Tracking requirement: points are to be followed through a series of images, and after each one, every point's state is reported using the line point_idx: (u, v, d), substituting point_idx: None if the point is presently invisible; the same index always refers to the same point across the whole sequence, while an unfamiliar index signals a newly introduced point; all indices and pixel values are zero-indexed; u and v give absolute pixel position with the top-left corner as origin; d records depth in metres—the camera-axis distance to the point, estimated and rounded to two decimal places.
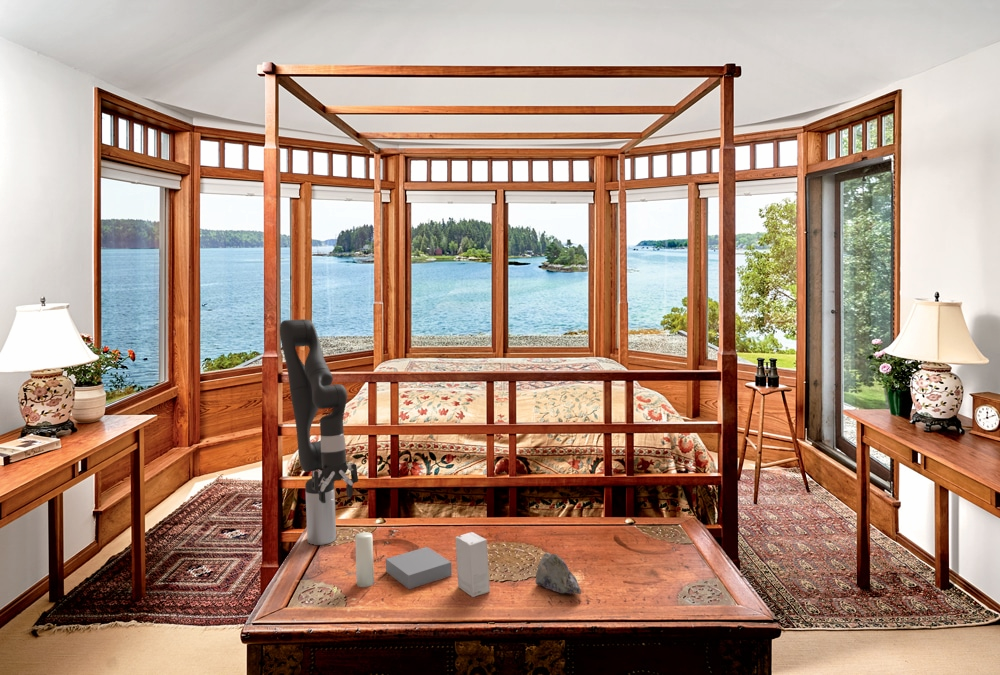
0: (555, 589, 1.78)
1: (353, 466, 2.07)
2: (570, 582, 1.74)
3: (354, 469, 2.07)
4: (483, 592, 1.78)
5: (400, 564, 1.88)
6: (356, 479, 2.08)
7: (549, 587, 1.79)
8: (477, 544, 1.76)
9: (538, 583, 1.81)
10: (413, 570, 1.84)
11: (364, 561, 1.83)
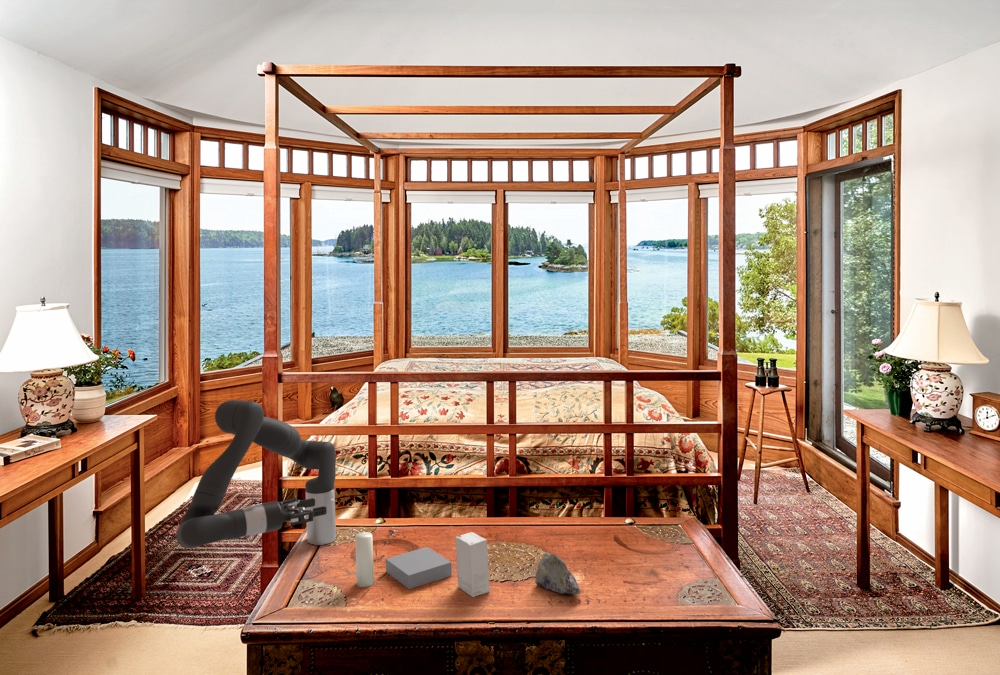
0: (554, 589, 1.78)
1: None
2: (569, 582, 1.74)
3: None
4: (483, 592, 1.78)
5: (400, 564, 1.88)
6: None
7: (548, 587, 1.79)
8: (478, 544, 1.76)
9: (538, 583, 1.81)
10: (413, 570, 1.84)
11: (364, 561, 1.83)
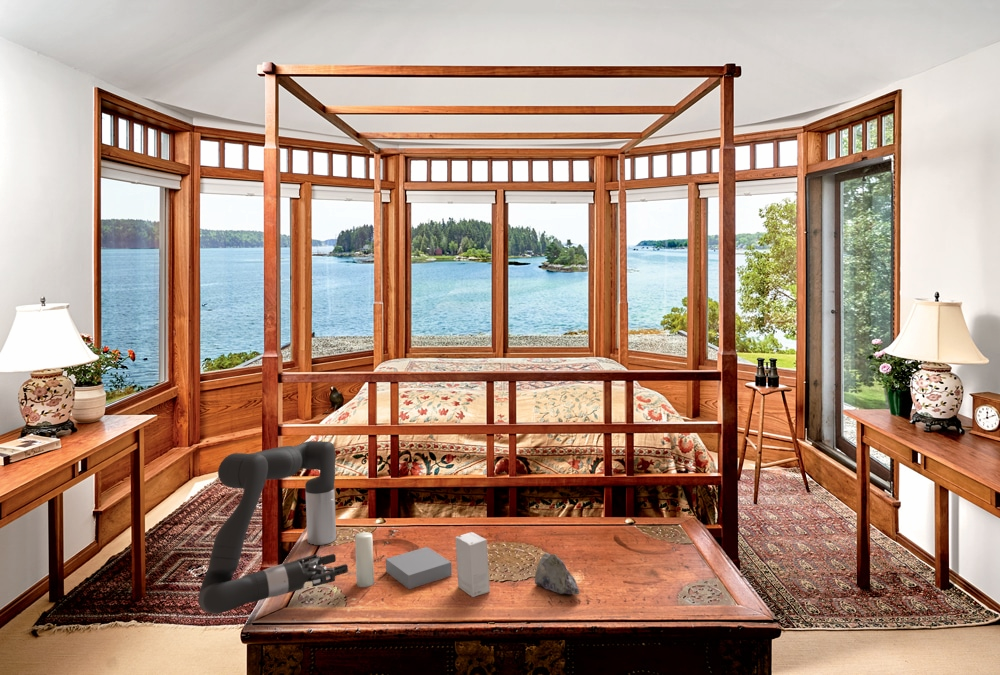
0: (554, 589, 1.77)
1: None
2: (568, 582, 1.74)
3: None
4: (483, 592, 1.78)
5: (400, 564, 1.88)
6: None
7: (548, 587, 1.79)
8: (477, 544, 1.76)
9: (537, 583, 1.82)
10: (413, 570, 1.84)
11: (364, 561, 1.82)
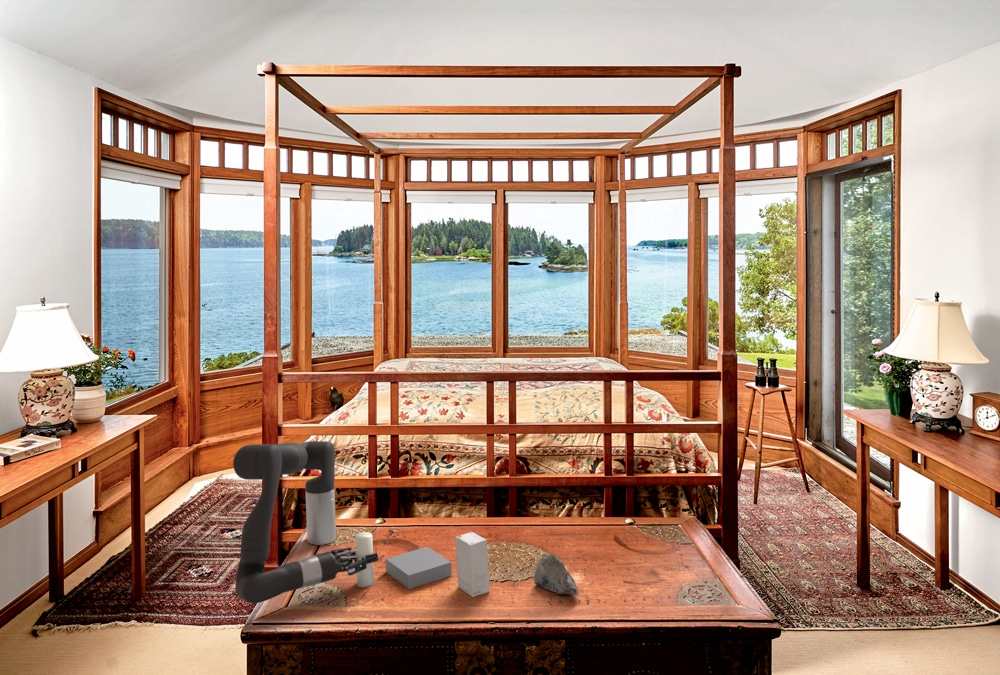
0: (553, 589, 1.77)
1: None
2: (567, 583, 1.74)
3: None
4: (483, 592, 1.78)
5: (400, 564, 1.88)
6: None
7: (547, 587, 1.79)
8: (478, 544, 1.76)
9: (536, 583, 1.82)
10: (413, 570, 1.84)
11: None
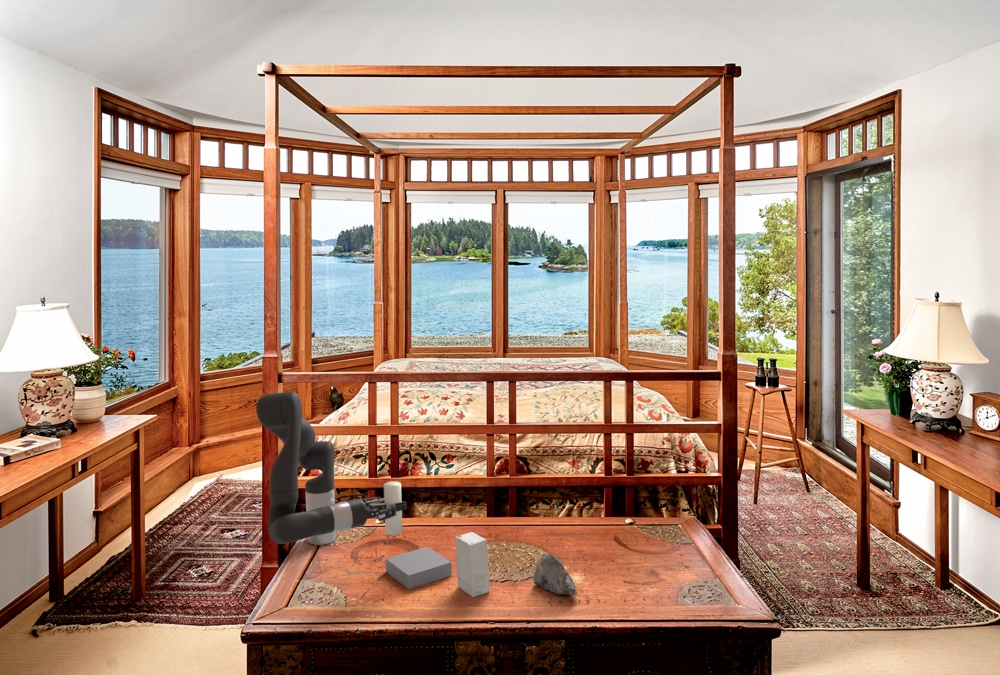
0: (552, 590, 1.77)
1: None
2: (566, 583, 1.73)
3: None
4: (483, 592, 1.78)
5: (400, 564, 1.88)
6: None
7: (546, 587, 1.79)
8: (477, 544, 1.76)
9: (536, 583, 1.82)
10: (413, 570, 1.84)
11: None
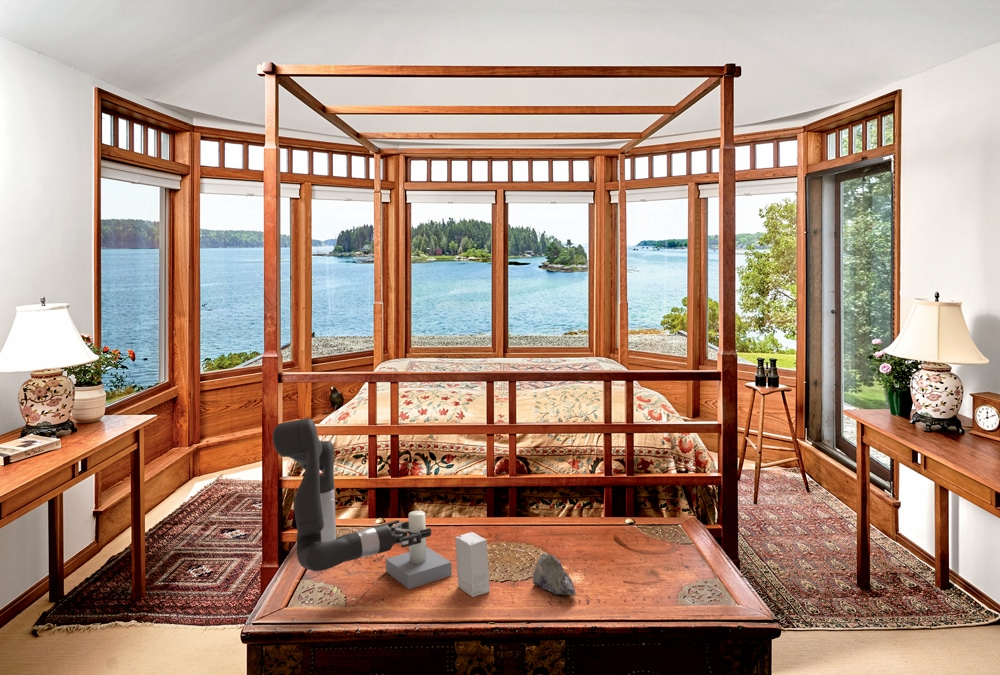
0: (550, 590, 1.77)
1: None
2: (564, 583, 1.73)
3: None
4: (483, 592, 1.78)
5: (400, 564, 1.88)
6: None
7: (545, 587, 1.79)
8: (477, 544, 1.76)
9: (535, 583, 1.82)
10: (413, 570, 1.84)
11: None
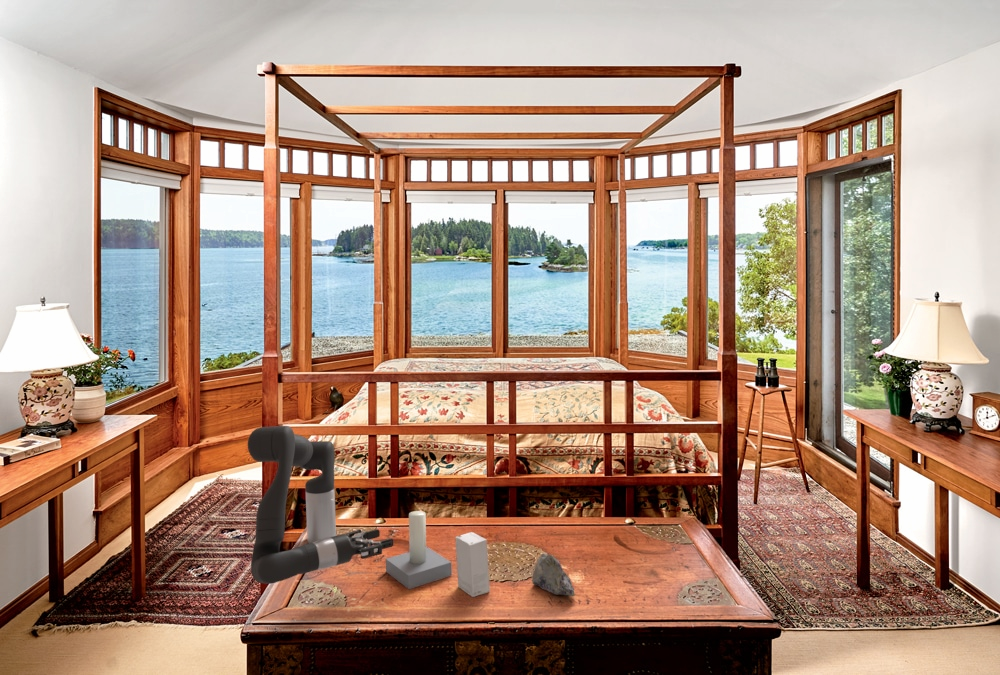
0: (550, 590, 1.77)
1: None
2: (563, 584, 1.73)
3: None
4: (483, 592, 1.78)
5: (400, 564, 1.88)
6: None
7: (544, 587, 1.79)
8: (477, 544, 1.76)
9: (534, 583, 1.82)
10: (413, 570, 1.84)
11: (418, 538, 1.88)
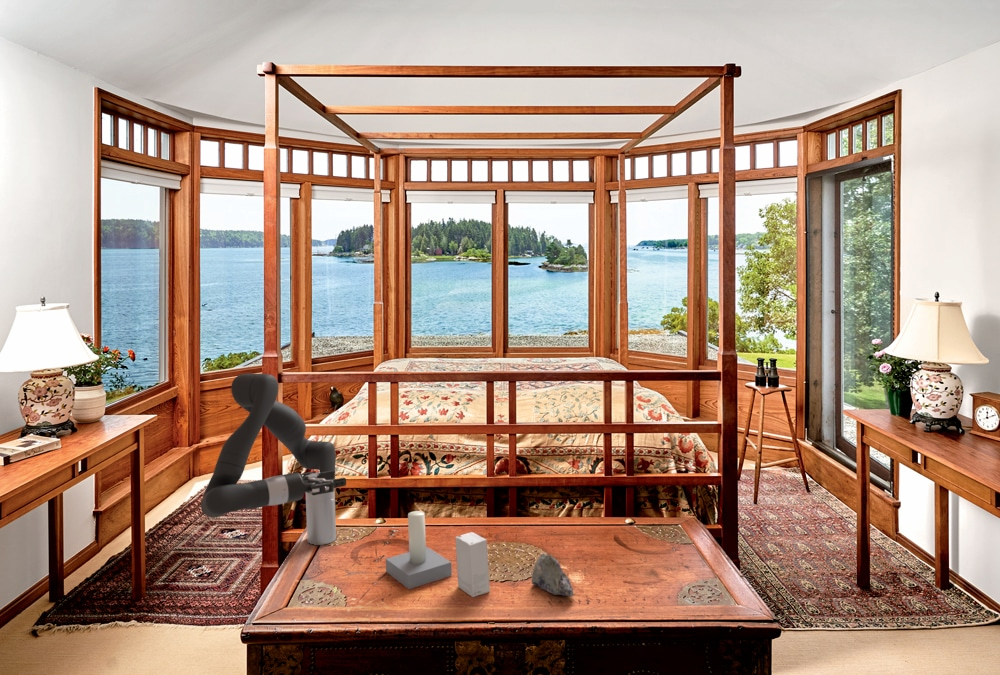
0: (549, 590, 1.77)
1: None
2: (562, 584, 1.73)
3: None
4: (483, 592, 1.78)
5: (400, 564, 1.88)
6: None
7: (543, 588, 1.79)
8: (477, 544, 1.76)
9: (534, 583, 1.82)
10: (413, 570, 1.84)
11: (417, 538, 1.88)
